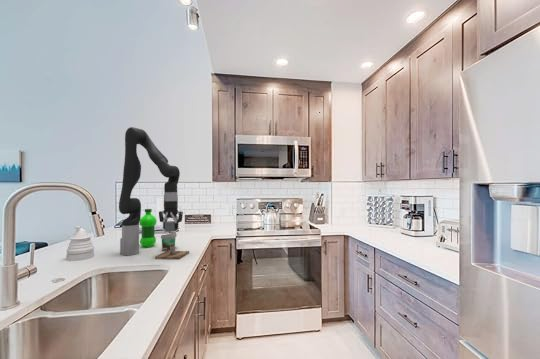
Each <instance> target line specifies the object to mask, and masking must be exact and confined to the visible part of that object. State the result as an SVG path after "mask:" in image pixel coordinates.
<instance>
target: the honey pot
mask: <svg viewBox="0 0 540 359" xmlns="http://www.w3.org/2000/svg"><path fill="white" fill-rule="evenodd" d="M74 228H75V232H74V233H73V236H71V237H70V238H69V240H70V242H69V244H68V245H67V249H66V258H65V259H66V261H67V262H71V261H72V262H76V261H84V260H89V259H92V258H94V257H95V246H94V244H93V241H92V239H91V238H92V235H89V233H88V232H87V231H86V230H85V229H84V228H81V226H80V225H77V226H74Z"/></svg>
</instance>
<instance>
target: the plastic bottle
mask: <svg viewBox="0 0 540 359" xmlns="http://www.w3.org/2000/svg"><path fill="white" fill-rule="evenodd" d="M152 211H153V210H152V208H146V209H144V213H145V214H144V215H143V216H142V217H140V221H139V227H140V226H141V238H140V239H139V245H140V246H142V247H143V248H151V247H154V245H155V244H156V243H157V239H156V236H155V226H156V225H157V223H158V221H157V217H155V216H154V215H153V214H152Z"/></svg>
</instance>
